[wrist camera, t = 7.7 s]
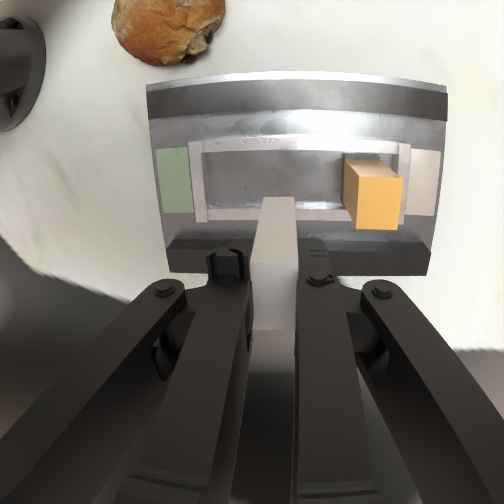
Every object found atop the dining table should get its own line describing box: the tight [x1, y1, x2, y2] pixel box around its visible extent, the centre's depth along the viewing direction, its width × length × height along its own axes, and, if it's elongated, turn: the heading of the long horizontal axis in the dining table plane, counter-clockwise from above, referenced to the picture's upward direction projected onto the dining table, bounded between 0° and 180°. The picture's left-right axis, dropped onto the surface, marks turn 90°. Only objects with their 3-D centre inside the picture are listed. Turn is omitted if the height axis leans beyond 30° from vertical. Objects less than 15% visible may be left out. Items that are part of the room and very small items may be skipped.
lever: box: [341, 153, 403, 230], centre depth 23 cm, size 3×4×7 cm
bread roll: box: [111, 0, 225, 66], centre depth 21 cm, size 10×10×8 cm
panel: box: [146, 71, 448, 276], centre depth 26 cm, size 26×18×4 cm
